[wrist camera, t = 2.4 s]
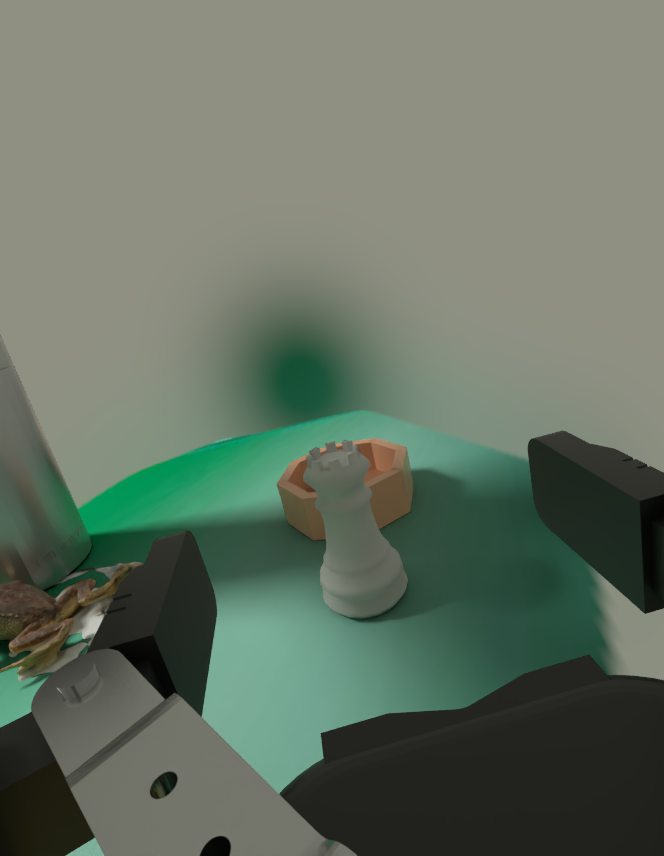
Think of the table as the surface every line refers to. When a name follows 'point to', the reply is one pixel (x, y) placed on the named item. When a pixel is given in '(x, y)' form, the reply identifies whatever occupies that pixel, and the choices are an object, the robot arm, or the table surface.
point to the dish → (383, 478)
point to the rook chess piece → (352, 536)
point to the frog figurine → (54, 618)
